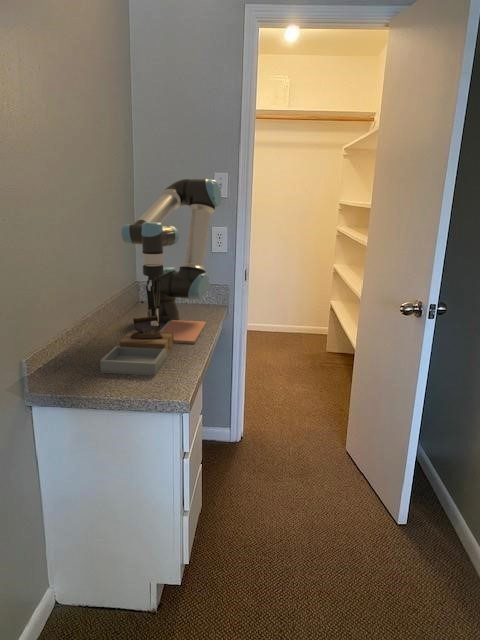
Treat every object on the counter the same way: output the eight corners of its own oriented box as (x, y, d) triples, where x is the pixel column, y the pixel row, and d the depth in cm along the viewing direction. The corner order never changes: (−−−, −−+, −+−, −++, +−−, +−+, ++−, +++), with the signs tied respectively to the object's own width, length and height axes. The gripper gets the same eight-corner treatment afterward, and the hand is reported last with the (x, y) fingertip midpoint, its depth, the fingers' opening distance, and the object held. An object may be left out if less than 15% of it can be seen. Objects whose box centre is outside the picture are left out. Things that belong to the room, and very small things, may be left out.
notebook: (169, 323, 202) (169, 319, 201) (206, 325, 200) (206, 321, 199) (151, 343, 175) (151, 338, 175) (194, 345, 174) (194, 340, 173)
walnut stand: (132, 342, 174) (132, 330, 172) (173, 344, 173) (173, 332, 171) (120, 355, 160) (119, 342, 159) (164, 357, 159) (164, 344, 158)
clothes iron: (164, 339, 164) (158, 315, 160) (134, 349, 161) (127, 324, 157) (160, 332, 170) (154, 308, 166) (131, 341, 167) (123, 317, 163)
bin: (117, 355, 160) (116, 345, 159) (167, 358, 159) (166, 347, 158) (100, 372, 145) (99, 360, 144) (155, 375, 144) (155, 363, 143)
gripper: (148, 261, 175) (149, 320, 181) (137, 266, 162) (140, 329, 168) (167, 262, 174) (168, 321, 180) (158, 267, 162) (159, 330, 168)
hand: (154, 325), depth 174 cm, fingers closed
